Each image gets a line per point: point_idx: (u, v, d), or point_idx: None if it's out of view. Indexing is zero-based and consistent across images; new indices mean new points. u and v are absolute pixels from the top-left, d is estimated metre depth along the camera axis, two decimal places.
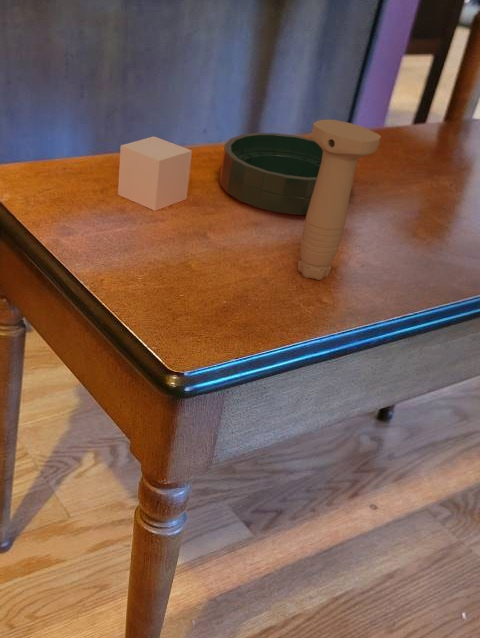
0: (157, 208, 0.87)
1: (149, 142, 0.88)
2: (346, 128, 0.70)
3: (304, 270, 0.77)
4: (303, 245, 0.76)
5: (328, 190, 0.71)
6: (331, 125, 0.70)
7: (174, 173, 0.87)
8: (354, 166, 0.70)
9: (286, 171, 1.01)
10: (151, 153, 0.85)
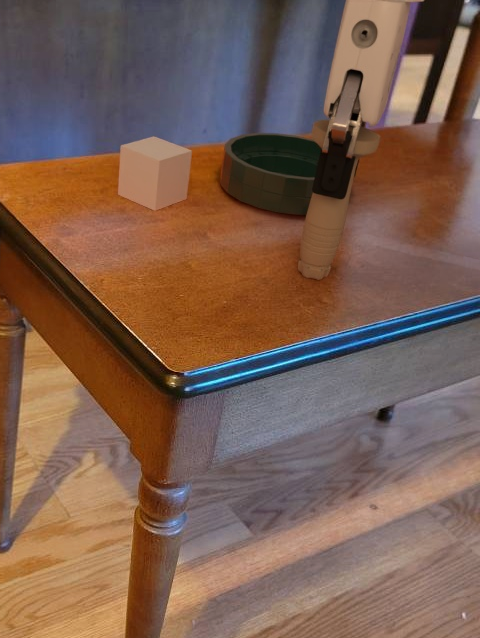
0: (157, 208, 0.87)
1: (149, 142, 0.88)
2: None
3: (304, 270, 0.77)
4: (303, 245, 0.76)
5: None
6: None
7: (174, 173, 0.87)
8: (354, 166, 0.70)
9: (286, 171, 1.01)
10: (151, 153, 0.85)
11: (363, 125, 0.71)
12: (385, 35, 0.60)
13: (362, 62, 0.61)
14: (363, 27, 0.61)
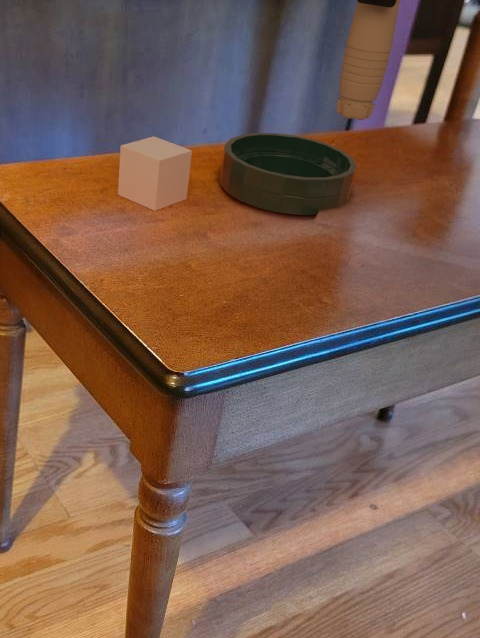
0: (157, 208, 0.87)
1: (149, 142, 0.88)
2: None
3: (344, 108, 0.68)
4: (343, 77, 0.67)
5: None
6: None
7: (174, 173, 0.87)
8: None
9: (286, 171, 1.01)
10: (151, 153, 0.85)
11: None
12: None
13: None
14: None
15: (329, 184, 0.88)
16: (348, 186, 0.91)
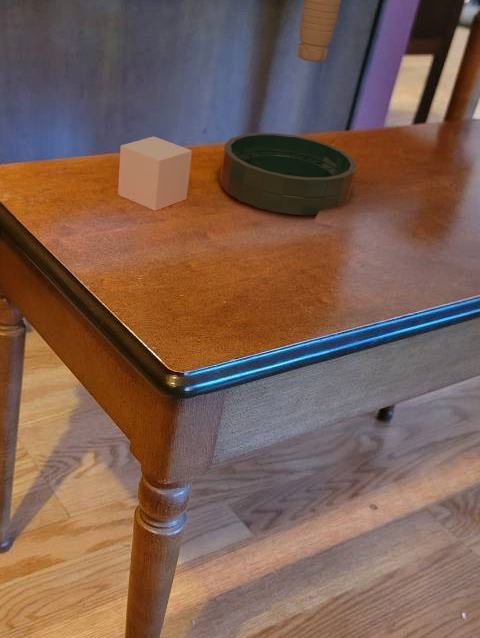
0: (157, 208, 0.87)
1: (149, 142, 0.88)
2: None
3: (303, 52, 0.84)
4: (302, 26, 0.83)
5: None
6: None
7: (174, 173, 0.87)
8: None
9: (286, 171, 1.01)
10: (151, 153, 0.85)
11: None
12: None
13: None
14: None
15: (329, 184, 0.88)
16: (348, 186, 0.91)
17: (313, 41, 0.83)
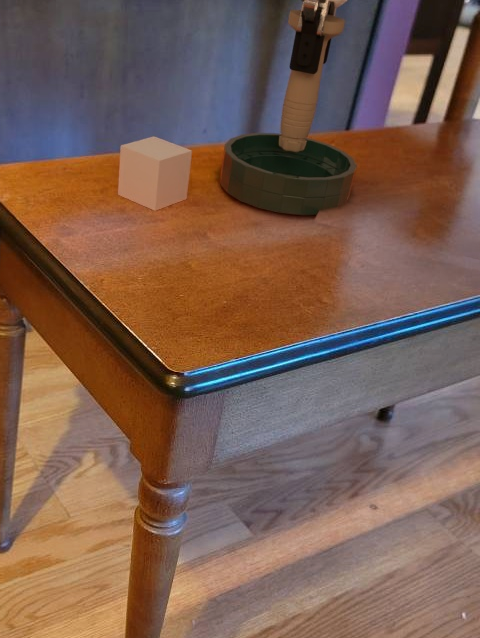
0: (157, 208, 0.87)
1: (149, 142, 0.88)
2: None
3: (284, 143, 0.91)
4: (283, 121, 0.90)
5: None
6: None
7: (174, 173, 0.87)
8: (324, 47, 0.85)
9: (286, 171, 1.01)
10: (151, 153, 0.85)
11: (332, 14, 0.86)
12: None
13: None
14: None
15: (329, 184, 0.88)
16: (348, 186, 0.91)
17: (292, 135, 0.90)
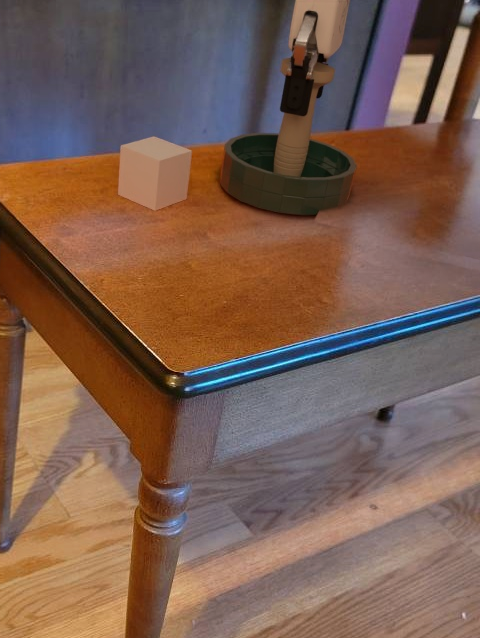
0: (157, 208, 0.87)
1: (149, 142, 0.88)
2: None
3: None
4: (275, 163, 0.93)
5: None
6: None
7: (174, 173, 0.87)
8: (315, 94, 0.88)
9: None
10: (151, 153, 0.85)
11: None
12: None
13: (317, 4, 0.79)
14: None
15: (329, 184, 0.88)
16: (348, 186, 0.91)
17: None
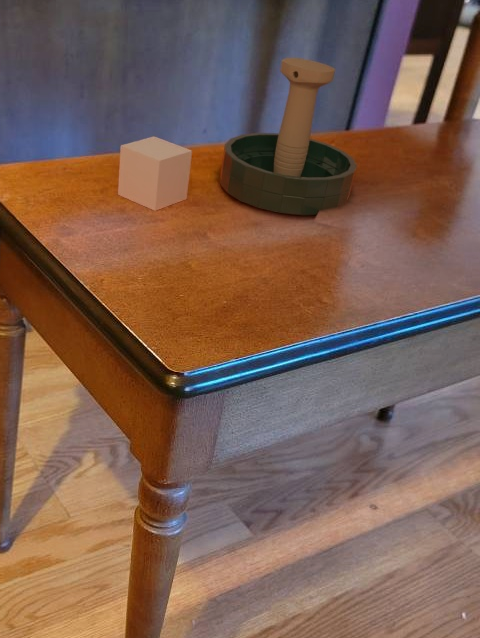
0: (157, 208, 0.87)
1: (149, 142, 0.88)
2: (308, 63, 0.87)
3: None
4: (275, 163, 0.93)
5: (294, 114, 0.89)
6: (296, 61, 0.87)
7: (174, 173, 0.87)
8: (315, 94, 0.88)
9: None
10: (151, 153, 0.85)
11: None
12: None
13: None
14: None
15: (329, 184, 0.88)
16: (348, 186, 0.91)
17: None
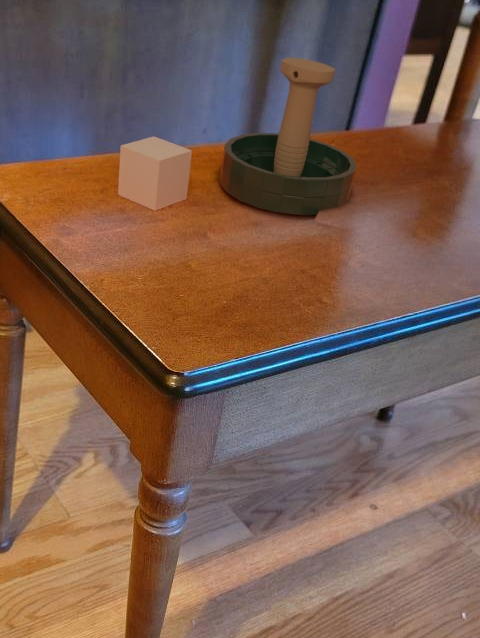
0: (157, 208, 0.87)
1: (149, 142, 0.88)
2: (308, 63, 0.87)
3: None
4: (275, 163, 0.93)
5: (294, 114, 0.89)
6: (296, 61, 0.87)
7: (174, 173, 0.87)
8: (315, 94, 0.88)
9: None
10: (151, 153, 0.85)
11: None
12: None
13: None
14: None
15: (329, 184, 0.88)
16: (348, 186, 0.91)
17: None
